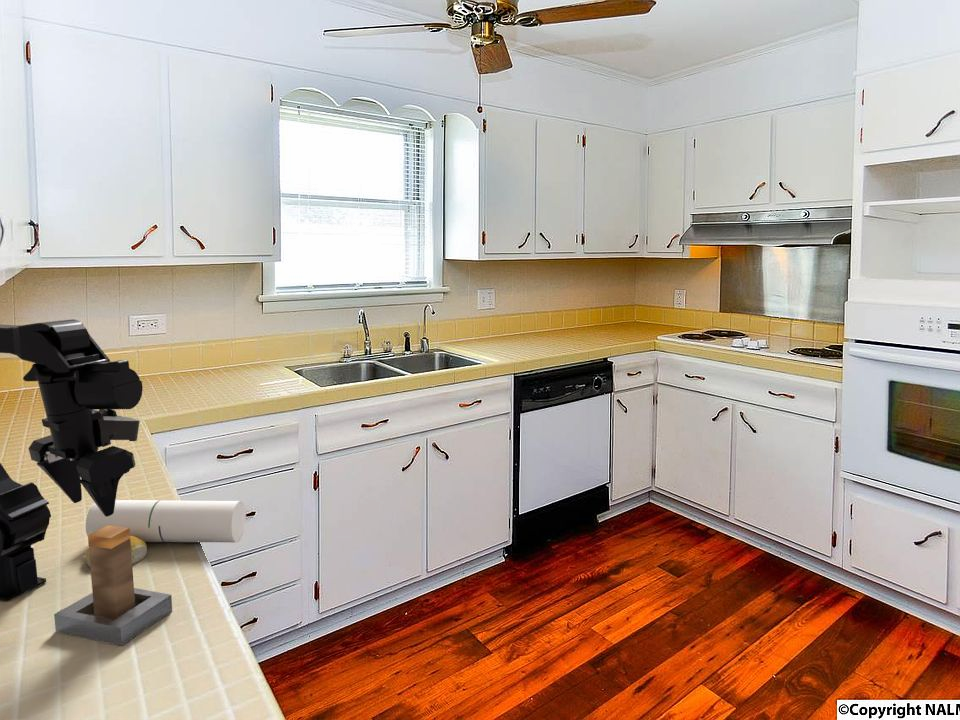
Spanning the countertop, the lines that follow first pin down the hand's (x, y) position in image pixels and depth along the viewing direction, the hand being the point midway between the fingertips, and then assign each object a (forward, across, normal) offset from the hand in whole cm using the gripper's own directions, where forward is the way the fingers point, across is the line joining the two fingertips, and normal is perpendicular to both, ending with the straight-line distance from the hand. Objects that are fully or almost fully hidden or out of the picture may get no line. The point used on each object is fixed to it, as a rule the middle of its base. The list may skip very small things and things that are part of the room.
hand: (93, 508), depth 98 cm
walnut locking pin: (+12, -11, +5) cm, 17 cm away
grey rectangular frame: (+12, -11, +5) cm, 17 cm away
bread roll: (+14, +9, -5) cm, 17 cm away
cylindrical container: (+11, +19, -8) cm, 23 cm away
